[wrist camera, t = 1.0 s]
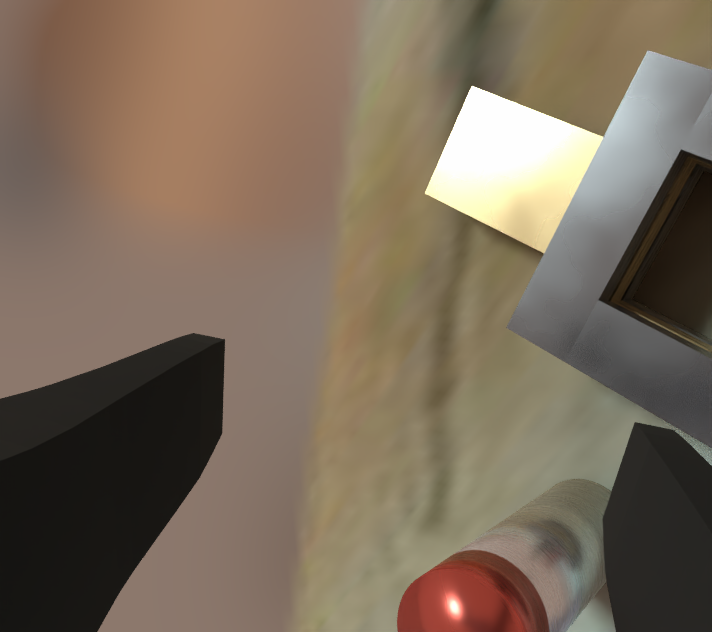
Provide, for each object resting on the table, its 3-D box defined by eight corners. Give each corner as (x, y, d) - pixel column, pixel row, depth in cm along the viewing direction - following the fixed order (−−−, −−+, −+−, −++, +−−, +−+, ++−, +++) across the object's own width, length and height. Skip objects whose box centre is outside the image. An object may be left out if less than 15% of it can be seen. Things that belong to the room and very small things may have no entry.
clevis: (1227, 267, 14) (1330, 260, 11) (978, 563, 17) (1008, 622, 14) (530, 38, 23) (485, 0, 20) (431, 256, 25) (377, 251, 22)
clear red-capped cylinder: (642, 572, 21) (538, 722, 14) (549, 572, 23) (411, 706, 15) (620, 475, 21) (506, 571, 14) (530, 482, 23) (386, 570, 16)
